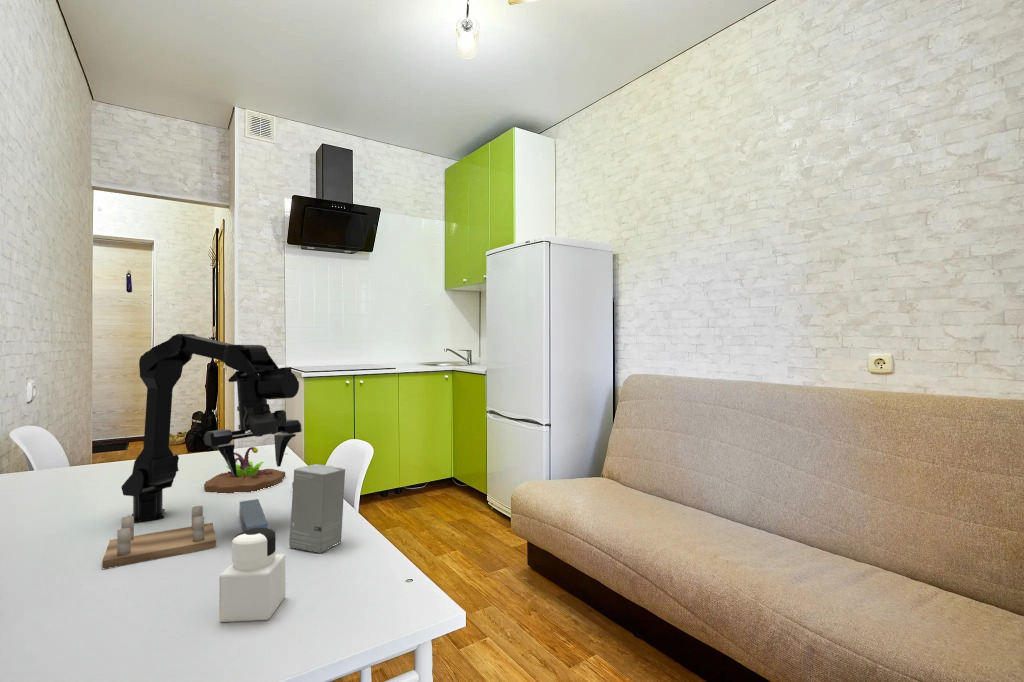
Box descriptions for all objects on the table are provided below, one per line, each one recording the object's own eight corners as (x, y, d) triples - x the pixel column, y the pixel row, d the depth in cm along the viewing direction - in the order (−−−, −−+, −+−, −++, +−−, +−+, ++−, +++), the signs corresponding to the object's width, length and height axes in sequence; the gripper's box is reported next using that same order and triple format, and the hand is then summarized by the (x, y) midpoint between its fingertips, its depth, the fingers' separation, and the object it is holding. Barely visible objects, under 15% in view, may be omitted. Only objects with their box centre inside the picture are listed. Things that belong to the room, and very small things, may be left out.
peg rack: (109, 547, 103) (110, 517, 103) (212, 529, 112) (212, 502, 112) (102, 569, 93) (102, 536, 93) (216, 547, 102) (216, 517, 102)
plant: (262, 495, 140) (262, 454, 140) (191, 495, 140) (192, 454, 140) (294, 476, 160) (294, 440, 160) (232, 476, 160) (232, 440, 160)
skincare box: (288, 548, 102) (288, 469, 102) (314, 536, 109) (314, 462, 109) (321, 554, 99) (321, 473, 99) (346, 541, 105) (346, 465, 106)
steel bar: (239, 518, 121) (239, 501, 121) (258, 515, 123) (258, 499, 123) (246, 546, 104) (246, 527, 104) (267, 542, 106) (267, 523, 106)
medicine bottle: (240, 599, 82) (240, 524, 82) (286, 597, 82) (286, 523, 82) (218, 623, 75) (218, 541, 75) (268, 620, 75) (269, 539, 75)
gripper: (216, 406, 101) (221, 485, 100) (309, 395, 114) (314, 465, 113) (201, 406, 108) (206, 479, 108) (289, 396, 122) (294, 461, 121)
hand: (257, 470), depth 112 cm, fingers open, 9 cm apart
